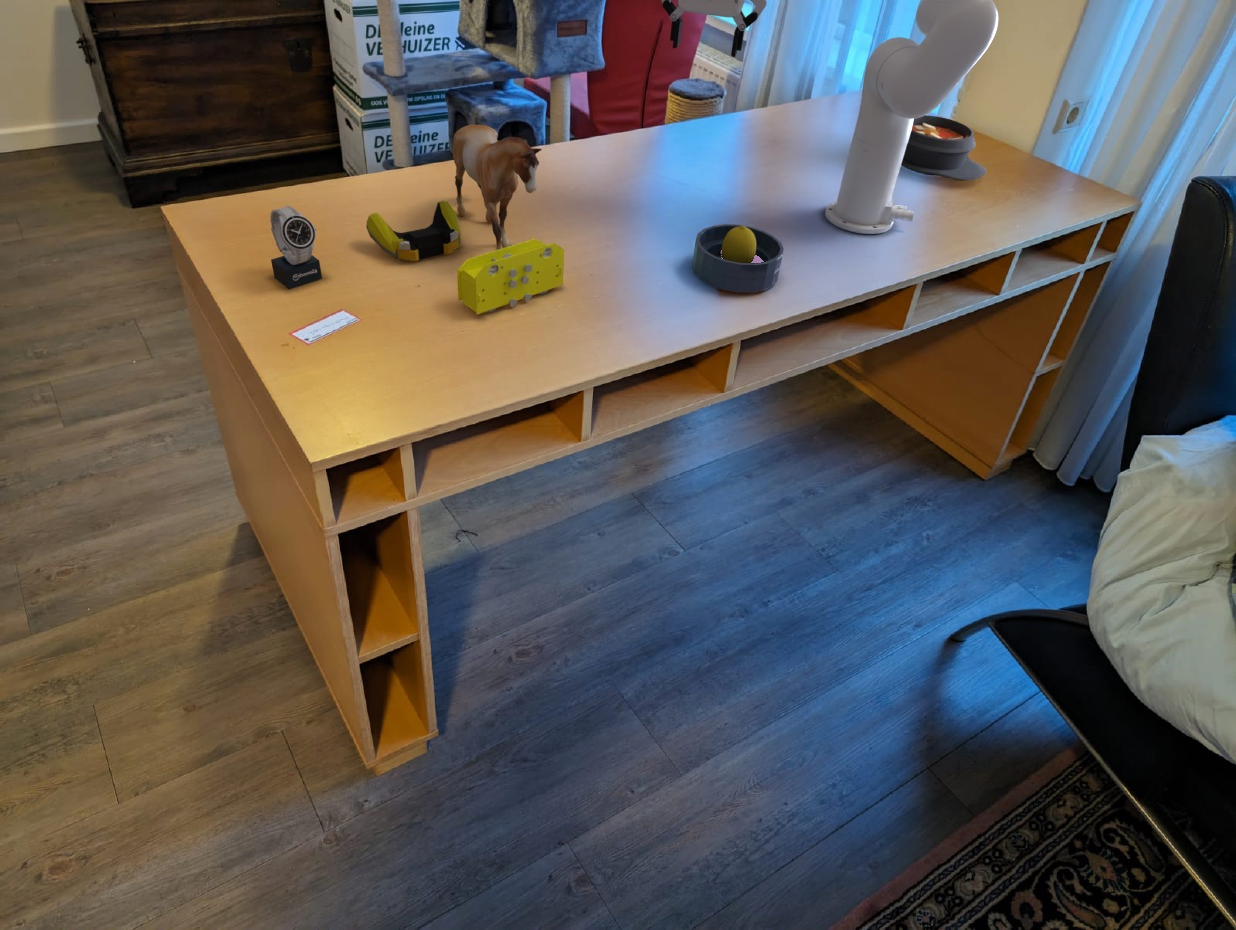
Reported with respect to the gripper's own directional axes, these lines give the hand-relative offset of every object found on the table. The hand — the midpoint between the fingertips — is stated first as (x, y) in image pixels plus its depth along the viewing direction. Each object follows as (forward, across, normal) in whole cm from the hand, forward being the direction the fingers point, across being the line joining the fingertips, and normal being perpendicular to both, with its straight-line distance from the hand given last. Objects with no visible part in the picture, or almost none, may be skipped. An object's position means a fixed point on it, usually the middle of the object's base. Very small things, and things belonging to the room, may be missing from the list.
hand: (705, 50), depth 143 cm
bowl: (+28, +12, -20) cm, 37 cm away
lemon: (+28, +12, -20) cm, 36 cm away
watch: (+28, -52, -46) cm, 75 cm away
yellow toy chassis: (+28, -20, -40) cm, 53 cm away
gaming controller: (+28, -39, -30) cm, 57 cm away
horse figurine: (+28, -28, -20) cm, 45 cm away
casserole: (+28, +46, +44) cm, 70 cm away
